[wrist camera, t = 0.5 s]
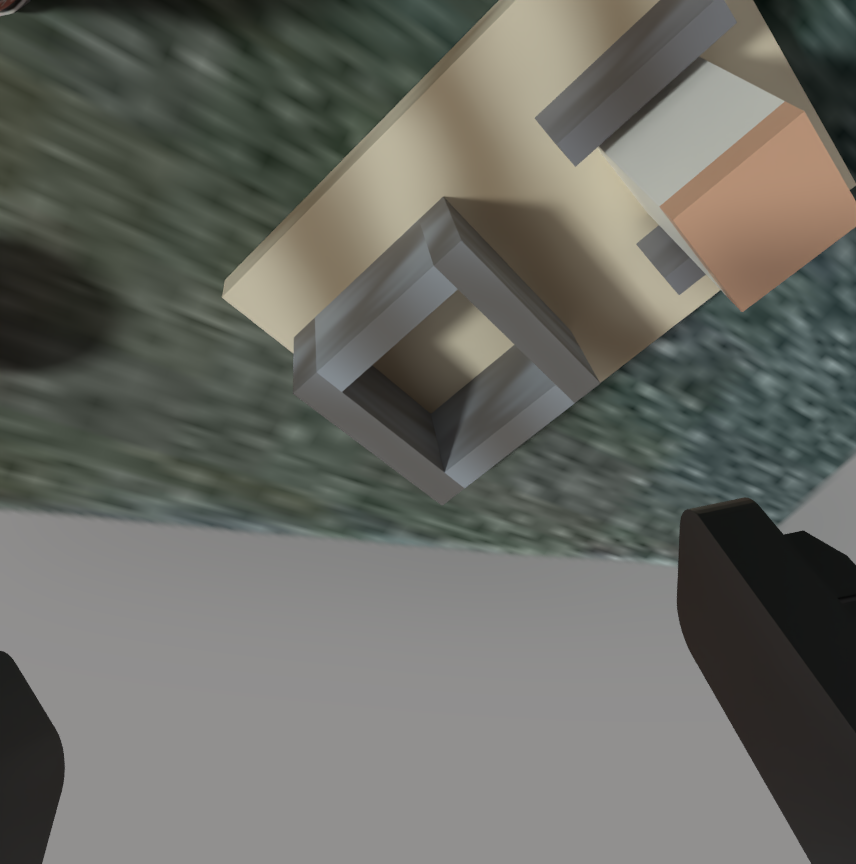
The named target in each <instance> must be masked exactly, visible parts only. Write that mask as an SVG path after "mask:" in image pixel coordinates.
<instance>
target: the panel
mask: <svg viewBox="0 0 856 864" xmlns="http://www.w3.org/2000/svg"><path fill="white" fill-rule="evenodd" d="M698 57H701V58H703V59H705V60H707V61H708V62H710V63H712V64H714V65H716V66H718V67H720V68H722V69H724V70H726V71H728V72H730V73H732V74H733V75H735V76H737V77H739V78H741V79H743V80H745V81H747V82H749V83H751V84H753V85H755V86H757V87H759V88H760V89H762V90H764V91H766V92H768V93H770V94H772V95H774V96H776V97H778V98H780V99H782V100H784V101H785V102H787V103H789V104H791V105H793V106H795V107H797V108H799V109H801V110H803V111H805V113H806V115H807V117H808V118H809V120H810V122H811V124H812V125H813V127H814V129H815V131H816V132H817V134H818V136H819V138H820V139H821V141H822V143H823V145H824V146H825V148H826V150H827V152H828V153H829V155H830V157H831V159H832V160H833V162H834V164H835V166H836V167H837V169H838V171H839V173H840V174H841V176H842V178H843V180H844V181H845V183H846V185H847V187H848V188H849V190H851V189H852V188H853V187H854V186H856V183H855V181H854V179H853V177H852V175H851V174H850V172H849V170H848V168H847V167H846V165H845V163H844V161H843V159H842V158H841V156H840V154H839V152H838V151H837V149H836V147H835V145H834V143H833V142H832V140H831V138H830V136H829V134H828V133H827V131H826V129H825V127H824V126H823V124H822V122H821V120H820V118H819V117H818V115H817V113H816V111H815V110H814V108H813V106H812V104H811V102H810V101H809V99H808V97H807V95H806V94H805V92H804V90H803V88H802V86H801V85H800V83H799V81H798V79H797V78H796V76H795V74H794V72H793V70H792V69H791V67H790V65H789V63H788V62H787V60H786V58H785V56H784V54H783V53H782V51H781V49H780V47H779V45H778V44H777V42H776V40H775V38H774V37H773V35H772V33H771V31H770V29H769V28H768V26H767V24H766V22H765V21H764V19H763V17H762V15H761V13H760V12H759V10H758V8H757V6H756V5H755V3H754V1H753V0H499V1H498V2H497V3H496V4H495V5H494V6H493V7H492V8H491V9H490V10H489V11H488V12H487V13H486V14H485V15H484V16H483V17H482V18H481V19H480V20H479V21H478V22H477V23H476V24H475V25H474V26H473V27H472V28H471V29H470V30H469V31H468V33H467V34H466V35H465V36H464V37H463V38H462V39H461V40H460V41H459V42H458V43H457V44H456V45H455V46H454V47H453V48H452V49H451V50H450V51H449V52H448V53H447V54H446V55H445V56H444V57H443V58H442V59H441V60H440V61H439V62H438V63H437V64H436V65H435V66H434V67H433V68H432V69H431V70H430V71H429V72H428V73H427V74H426V75H425V76H424V77H423V78H422V79H421V80H420V81H419V83H418V84H417V85H416V86H415V87H414V88H413V89H412V90H411V91H410V92H409V93H408V94H407V95H406V96H405V97H404V98H403V99H402V100H401V101H400V102H399V103H398V104H397V105H396V106H395V107H394V108H393V109H392V110H391V111H390V112H389V113H388V114H387V115H386V116H385V117H384V118H383V119H382V120H381V121H380V122H379V123H378V124H377V125H376V126H375V127H374V128H373V129H372V130H371V131H370V132H369V134H368V135H367V136H366V137H365V138H364V139H363V140H362V141H361V142H360V143H359V144H358V145H357V146H356V147H355V148H354V149H353V150H352V151H351V152H350V153H349V154H348V155H347V156H346V157H345V158H344V159H343V160H342V161H341V162H340V163H339V164H338V165H337V166H336V167H335V168H334V169H333V170H332V171H331V172H330V173H329V174H328V175H327V176H326V177H325V178H324V179H323V180H322V181H321V182H320V184H319V185H318V186H317V187H316V188H315V189H314V190H313V191H312V192H311V193H310V194H309V195H308V196H307V197H306V198H305V199H304V200H303V201H302V202H301V203H300V204H299V205H298V206H297V207H296V208H295V209H294V210H293V211H292V212H291V213H290V214H289V215H288V216H287V217H286V218H285V219H284V220H283V221H282V222H281V223H280V224H279V225H278V226H277V227H276V228H275V229H274V230H273V231H272V232H271V234H270V235H269V236H268V237H267V238H266V239H265V240H264V241H263V242H262V243H261V244H260V245H259V246H258V247H257V248H256V249H255V250H254V251H253V252H252V253H251V254H250V255H249V256H248V257H247V258H246V259H245V260H244V261H243V262H242V263H241V264H240V265H239V266H238V267H237V268H236V269H235V270H234V271H233V272H232V273H231V274H230V275H229V276H228V277H227V278H226V279H225V283H224V289H223V294H222V298H223V299H225V300H226V301H227V302H228V303H230V304H231V305H232V306H234V307H235V308H236V309H237V310H239V311H240V312H241V313H243V314H244V315H245V316H246V317H248V318H249V319H250V320H251V321H253V322H254V323H255V324H257V325H258V326H259V327H260V328H262V329H263V330H264V331H265V332H267V333H268V334H269V335H271V336H272V337H273V338H274V339H276V340H277V341H278V342H279V343H281V344H282V345H283V346H285V347H286V348H287V349H288V350H290V351H291V352H292V353H293V354H294V358H293V394H294V395H295V396H297V397H298V398H299V399H301V400H302V401H303V402H305V403H306V404H307V405H309V406H310V407H311V408H313V409H314V410H315V411H317V412H318V413H319V414H321V415H322V416H323V417H325V418H326V419H327V420H329V421H330V422H331V423H333V424H334V425H335V426H337V427H338V428H339V429H341V430H342V431H343V432H345V433H346V434H347V435H349V436H350V437H351V438H353V439H354V440H355V441H357V442H358V443H359V444H361V445H362V446H363V447H365V448H366V449H367V450H369V451H370V452H371V453H373V454H374V455H375V456H377V457H378V458H379V459H381V460H382V461H383V462H385V463H386V464H387V465H389V466H390V467H391V468H393V469H394V470H395V471H397V472H398V473H399V474H401V475H402V476H403V477H405V478H406V479H407V480H409V481H410V482H411V483H413V484H414V485H415V486H417V487H418V488H419V489H421V490H422V491H423V492H425V493H426V494H427V495H429V496H430V497H431V498H433V499H434V500H435V501H437V502H438V503H439V504H441V505H444V504H445V503H446V502H447V501H449V500H450V499H451V498H453V497H454V496H455V495H456V494H458V493H459V492H460V491H462V490H463V489H464V488H466V487H467V486H468V485H469V484H471V483H472V482H473V481H475V480H476V479H477V478H479V477H480V476H481V475H482V474H484V473H485V472H486V471H488V470H489V469H490V468H491V467H493V466H494V465H495V464H497V463H498V462H499V461H501V460H502V459H503V458H504V457H506V456H507V455H508V454H510V453H511V452H512V451H513V450H515V449H516V448H517V447H519V446H520V445H521V444H523V443H524V442H525V441H526V440H528V439H529V438H530V437H532V436H533V435H534V434H535V433H537V432H538V431H539V430H541V429H542V428H543V427H545V426H546V425H547V424H548V423H550V422H551V421H552V420H554V419H555V418H556V417H557V416H559V415H560V414H561V413H563V412H564V411H565V410H567V409H568V408H569V407H570V406H572V405H573V404H574V403H576V402H577V401H578V400H579V399H581V398H582V397H583V396H585V395H586V394H587V393H589V392H590V391H591V390H592V389H594V388H595V387H596V386H598V385H599V384H600V383H601V382H602V381H603V380H605V379H606V378H607V377H609V376H610V375H611V374H612V373H614V372H615V371H616V370H618V369H619V368H620V367H621V366H623V365H624V364H625V363H627V362H628V361H629V360H631V359H632V358H633V357H634V356H636V355H637V354H638V353H640V352H641V351H642V350H643V349H645V348H646V347H647V346H649V345H650V344H651V343H653V342H654V341H655V340H656V339H658V338H659V337H660V336H662V335H663V334H664V333H665V332H667V331H668V330H669V329H671V328H672V327H673V326H675V325H676V324H677V323H678V322H680V321H681V320H682V319H684V318H685V317H686V316H687V315H689V314H690V313H691V312H693V311H694V310H695V309H697V308H698V307H699V306H700V305H702V304H703V303H704V302H706V301H707V300H708V299H709V298H711V297H712V296H713V295H715V294H716V293H717V292H719V291H720V288H719V287H718V286H717V285H716V284H715V283H714V282H713V281H712V280H711V279H710V278H709V277H708V276H707V275H706V274H705V273H704V272H703V271H702V270H701V269H700V268H699V267H698V265H697V264H696V263H695V262H694V261H693V260H692V259H691V258H690V257H689V256H688V255H687V254H686V253H685V252H684V251H683V250H682V249H681V248H680V247H679V246H678V245H677V243H676V242H675V241H674V240H673V239H672V238H671V237H670V236H669V235H668V234H667V233H666V232H665V231H664V230H663V229H662V228H661V227H660V226H659V225H658V224H657V223H656V221H655V220H654V219H653V218H652V217H651V216H650V215H649V214H648V213H647V212H646V211H645V209H644V208H643V207H642V205H641V204H640V203H639V202H638V200H637V199H636V198H635V196H634V195H633V194H632V193H631V191H630V190H629V189H628V187H627V186H626V185H625V183H624V182H623V181H622V180H621V178H620V177H619V176H618V174H617V173H616V172H615V171H614V169H613V168H612V167H611V165H610V164H609V163H608V161H607V160H606V159H605V158H604V156H603V155H602V154H601V152H600V151H599V150H598V149H597V147H598V146H599V145H601V144H602V143H603V142H604V141H605V140H606V139H607V138H608V137H610V136H611V135H612V134H613V133H614V132H615V131H616V130H617V129H618V128H620V127H621V126H622V125H623V124H624V123H625V122H626V121H627V120H629V119H630V118H631V117H632V116H633V115H634V114H635V113H636V112H638V111H639V110H640V109H641V108H642V107H643V106H644V105H645V104H646V103H648V102H649V101H650V100H651V99H652V98H653V97H654V96H655V95H657V94H658V93H659V92H660V91H661V90H662V89H663V88H664V87H665V86H667V85H668V84H669V83H670V82H671V81H672V80H673V79H674V78H676V77H677V76H678V75H679V74H680V73H681V72H682V71H683V70H684V69H686V68H687V67H688V66H689V65H690V64H691V63H692V62H693V61H695V60H696V59H697V58H698Z"/></svg>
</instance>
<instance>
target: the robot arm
mask: <svg viewBox="0 0 856 864" xmlns="http://www.w3.org/2000/svg"><path fill="white" fill-rule="evenodd" d="M677 610H678V617H679V621H680V625H681V629H682V633H683V635H684V638H685V641H686V644H687V646H688V648H689V650H690V652H691V654H692V656H693V658H694V659H695V661H696V663H697V664H698V666H699V668H700V670H701V672H702V673H703V675H704V677H705V679H706V680H707V682H708V684H709V686H710V687H711V689H712V691H713V693H714V694H715V696H716V698H717V700H718V701H719V703H720V705H721V707H722V708H723V710H724V712H725V714H726V715H727V717H728V719H729V721H730V722H731V724H732V726H733V728H734V729H735V731H736V733H737V734H738V736H739V738H740V740H741V741H742V743H743V745H744V747H745V748H746V750H747V752H748V754H749V756H750V757H751V759H752V761H753V763H754V764H755V766H756V768H757V770H758V771H759V773H760V775H761V777H762V778H763V780H764V782H765V783H766V785H767V787H768V789H769V790H770V792H771V794H772V796H773V797H774V799H775V801H776V803H777V804H778V806H779V808H780V810H781V811H782V813H783V815H784V817H785V818H786V820H787V822H788V824H789V825H790V827H791V829H792V830H793V832H794V834H795V836H796V837H797V839H798V841H799V843H800V845H801V846H802V848H803V850H804V852H805V853H806V855H807V857H808V859H809V860H810V862H811V864H856V565H855V564H854V563H853V562H852V561H851V560H850V559H849V557H848V556H847V555H845V554H843V553H841V552H840V551H838V550H836V549H834V548H833V547H831V546H829V545H828V544H825V543H824V542H822V541H821V540H819V539H817V538H815V537H813V536H812V535H810V534H808V533H807V532H805V531H799V532H795V533H790V534H785V535H783V533H782V532H781V531H780V530H779V529H778V528H777V526H776V525H775V524H774V523H773V522H772V520H771V519H770V518H769V517H768V516H767V515H766V513H765V512H764V511H763V510H762V509H761V508H760V506H759V505H758V504H757V503H756V502H755V501H753V500H752V499H750V498H740V499H735V500H731V501H726V502H721V503H716V504H711V505H707V506H702V507H697V508H692V509H687V510H685V511H684V512H683V514H682V516H681V520H680V535H679V560H678V584H677ZM64 764H65V763H64V753H63V747H62V743H61V740H60V737H59V734H58V733H57V731H56V729H55V727H54V726H53V724H52V722H51V721H50V719H49V717H48V716H47V714H46V712H45V711H44V709H43V707H42V706H41V704H40V703H39V701H38V699H37V698H36V696H35V694H34V693H33V691H32V689H31V688H30V686H29V685H28V683H27V681H26V680H25V678H24V676H23V675H22V673H21V671H20V670H19V668H18V666H17V665H16V663H15V662H14V660H13V659H12V658H11V657H10V656H9V655H8V654H7V653H5V652H3V651H0V864H42V862H43V858H44V854H45V850H46V847H47V843H48V839H49V835H50V832H51V828H52V825H53V821H54V817H55V814H56V810H57V806H58V802H59V799H60V795H61V792H62V787H63V782H64V770H65V765H64Z"/></svg>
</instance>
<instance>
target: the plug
mask: <svg viewBox="0 0 856 864" xmlns="http://www.w3.org/2000/svg"><path fill="white" fill-rule="evenodd" d="M597 149H598V150H599V151H600V152H601V154H602V155H603V156H604V158H605V159H606V160H607V161H608V163H609V164H610V165H611V167H612V168H613V169H614V171H615V172H616V173H617V174H618V176H619V177H620V178H621V180H622V181H623V182H624V183H625V185H626V186H627V187H628V189H629V190H630V191H631V193H632V194H633V195H634V196H635V198H636V199H637V200H638V202H639V203H640V204H641V205H642V207H643V208H644V209H645V211H646V212H647V213H648V214H649V215H650V216H651V217H652V218H653V219H654V220H655V221H656V223H657V224H658V225H659V226H660V227H661V228H662V229H663V230H664V231H665V232H666V233H667V234H668V235H669V236H670V237H671V238H672V239H673V240H674V241H675V242H676V243H677V245H678V246H679V247H680V248H681V249H682V250H683V251H684V252H685V253H686V254H687V255H688V256H689V257H690V258H691V259H692V260H693V261H694V262H695V263H696V264H697V265H698V267H699V268H700V269H701V270H702V271H703V272H704V273H705V274H706V275H707V276H708V277H709V278H710V279H711V280H712V281H713V282H714V283H715V284H716V285H717V286H718V287H719V288H720V290H721V291H722V292H723V293H724V294H725V295H726V296H727V297H728V298H729V299H730V300H731V301H732V302H733V303H734V304H735V305H736V306H737V307H738V308H739V309H740V310H741V312H743V311H745V310H746V309H747V308H748V307H750V306H751V305H752V304H754V303H755V302H756V301H758V300H759V299H760V298H762V297H763V296H764V295H766V294H767V293H768V292H770V291H771V290H772V289H774V288H775V287H776V286H778V285H779V284H780V283H782V282H783V281H784V280H786V279H787V278H788V277H790V276H791V275H792V274H794V273H795V272H796V271H798V270H799V269H800V268H802V267H803V266H804V265H806V264H807V263H808V262H809V261H811V260H812V259H813V258H815V257H816V256H817V255H819V254H820V253H821V252H823V251H824V250H825V249H827V248H828V247H829V246H831V245H832V244H833V243H835V242H836V241H837V240H839V239H840V238H841V237H843V236H844V235H845V234H847V233H848V232H849V231H851V230H852V229H853V228H855V227H856V201H855V199H854V197H853V195H852V194H851V192H850V190H849V188H848V187H847V185H846V183H845V181H844V180H843V178H842V176H841V174H840V173H839V171H838V169H837V167H836V166H835V164H834V162H833V160H832V159H831V157H830V155H829V153H828V152H827V150H826V148H825V146H824V145H823V143H822V141H821V139H820V138H819V136H818V134H817V132H816V131H815V129H814V127H813V125H812V124H811V122H810V120H809V118H808V117H807V115H806V113H805V111H803V110H801V109H799V108H797V107H795V106H793V105H791V104H789V103H787V102H785V101H784V100H782V99H780V98H778V97H776V96H774V95H772V94H770V93H768V92H766V91H764V90H762V89H760V88H759V87H757V86H755V85H753V84H751V83H749V82H747V81H745V80H743V79H741V78H739V77H737V76H735V75H733V74H732V73H730V72H728V71H726V70H724V69H722V68H720V67H718V66H716V65H714V64H712V63H710V62H708V61H707V60H705V59H703V58H701V57H698V58H697V59H696V60H695V61H693V62H692V63H691V64H690V65H689V66H688V67H687V68H686V69H684V70H683V71H682V72H681V73H680V74H679V75H678V76H677V77H676V78H674V79H673V80H672V81H671V82H670V83H669V84H668V85H667V86H665V87H664V88H663V89H662V90H661V91H660V92H659V93H658V94H657V95H655V96H654V97H653V98H652V99H651V100H650V101H649V102H648V103H646V104H645V105H644V106H643V107H642V108H641V109H640V110H639V111H638V112H636V113H635V114H634V115H633V116H632V117H631V118H630V119H629V120H627V121H626V122H625V123H624V124H623V125H622V126H621V127H620V128H618V129H617V130H616V131H615V132H614V133H613V134H612V135H611V136H610V137H608V138H607V139H606V140H605V141H604V142H603V143H602V144H601V145H599V146H598V147H597Z"/></svg>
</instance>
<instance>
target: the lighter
mask: <svg viewBox="0 0 856 864" xmlns="http://www.w3.org/2000/svg"><path fill="white" fill-rule="evenodd" d="M30 1H31V0H0V16H2V15H7V14H12V13H14V12H16V11H18V10H19V9H21V8H22V7H24V6H25V5H26V4H27V3H29V2H30Z"/></svg>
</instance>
